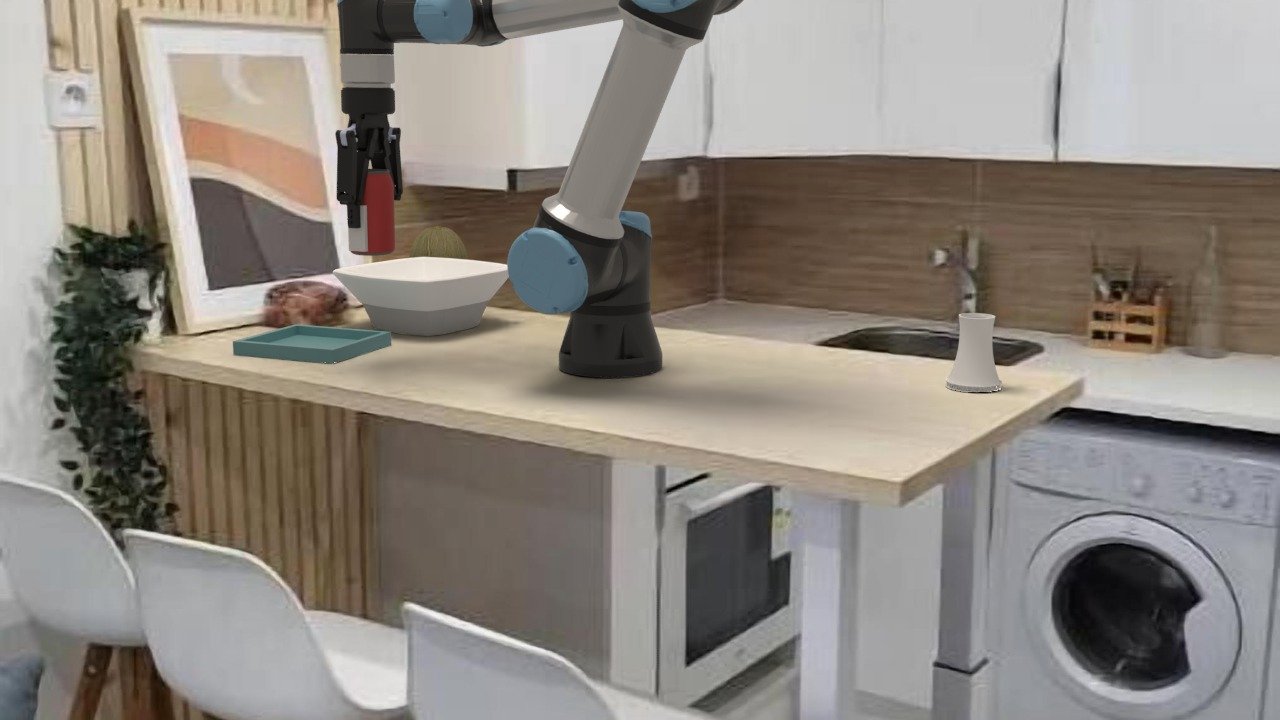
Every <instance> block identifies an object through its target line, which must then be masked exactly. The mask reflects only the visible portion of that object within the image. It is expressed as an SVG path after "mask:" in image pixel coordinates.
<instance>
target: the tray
mask: <svg viewBox="0 0 1280 720" xmlns="http://www.w3.org/2000/svg"><path fill="white" fill-rule="evenodd" d="M388 346H392V332H386V331H382V330H373V329H362V328H361V329H358V328H346V327H334V326H322V325H321V326H320V325H310V324H309V325H308V324H298V323H296V324H292V325H291V324H290V325H288V326H284V327H280V328H276V329H274V330H269V331H265V332H262V333H258V334H254V335H251V336H247V337H244V338H243V337H242V338H241V339H235V340H232V351H233V356H243V357H255V358H265V359H274V358H276V360H277V359H278V360H287V361H297V362H307V361H311V362H310V363H318V362H323V363H322V364H329V363H334V362H338V361H341V362H343V361H342V360H344V361H347V360H350V359H353V358H356V357H359V356H362V355H365V354H368V353H371V352H374V351H378V350H381V349H382V348H383V349H384V348H386V347H388ZM346 359H347V360H346ZM324 362H326V363H324ZM338 363H339V362H338Z"/></svg>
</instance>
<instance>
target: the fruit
mask: <svg viewBox="0 0 1280 720" xmlns="http://www.w3.org/2000/svg"><path fill="white" fill-rule="evenodd" d="M414 257H438V258H453V259H465V260H470V258H469V253H468V252H467V248H466V246H465V244H464V242H463V240H462V239H461V238H460V236H459V234H457V233H456V232H455V231H454V230H453V229H451V228H449V227H446V226H440V225H436V226H434V227H433V226H431V227H427V228H425V229H423V230H422V231H421V232H420V233H419V234H418V235H417V236H416V238H415V240H414V241H413V242H412V245H411V248H410V251H409V257H408V258H414Z"/></svg>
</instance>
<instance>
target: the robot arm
mask: <svg viewBox="0 0 1280 720" xmlns="http://www.w3.org/2000/svg"><path fill="white" fill-rule="evenodd" d="M743 1H744V0H337V2H336V4H337V5H336V6H337V7H336V8H337V12H338V27H339V38H340V39H339V41H340V49H339V54H340V57H339V59H340V63H339V66H340V82H341V83H342V84H344V85H345V86H344V87H342V88H341V89H340V101H341V102H340V103H341V107H340V108H341V112H342V113H343V114H345V115H348V117H349V118H348V123H347V128H345V129H336V130H335V140H336V147H337V149H336V150H337V151H336V152H337V153H336V156H337V158H336V159H337V162H336V200H337V201H338V202H339V204H340V205H344V206H345V205H346V209H347V210H346V212H347V214H346V216H347V217H346V220H347V227H348V229H347V230H348V232H347V233H348V234H347V235H348V251H349V252H350V251H361V252H366V251H368V230H367V205H362V204H363V199H364V193H365V187H366V180H367V174H368V169H369V167H370V165H371V169H387V170H389V171H390V172H389V174H390V176H391V179H392V181H393V185H394V201H395V202H396V201H401V199H402V194H403V193H404V192H403V191H404V187H403V173H402V160H401V159H402V157H401V147H400V145H401V133H402V131H401V130H402V129H401V127H395V126H394V127H393V126H390V122H389V118H388V117H389V116H388V115H393V114H395V112H396V90H394V87H392V85H393V84H394V83H395V82H396V75H395V74H396V73H395V54H394V53H395V44H400V43H401V44H402V43H405V44H434V45H466V46H467V45H470V46H477V47H483V48H484V47H493V46H497V45H500V44H503V43H504V42H506V41H507V40H512V39H513V40H514V39H517V38H518V39H519V38H524V37H530V36H535V35H543V34H547V33H553V32H559V31H563V30H570V29H576V28H582V27H588V26H593V25H598V24H605V23H610V22H615V21H622V27H621V30H620V31H619V34H618V37H617V40H616V43H615V44H614V45H615V46H614V47H613V50H612V53H611V56H610V59H609V61H608V64H607V66H606V69H605V71H604V75H603V76H602V79H601V82H600V84H599V87H598V89H597V91H596V95H595V97H594V100H593V103H592V105H591V107H590V110H589V113H588V115H587V118H586V121H585V122H584V123H585V124H584V126H583V128H582V131H581V134H580V136H579V139H578V141H577V144H576V147H575V149H574V151H573V154H572V156H571V159H570V162H569V164H568V167H567V169H566V172H565V175H564V177H563V179H562V180H563V181H562V183H561V186H560V188H559V191H558V192H557V193H555V194H553V195H551V196H548V197H546V198H545V199H544V200H543V201H542V203H541V204H540V205H541V206H540V208H539V211H538V214H537V217H536V219H535V221H534V224H533V226H532V227H531V228H529V229H527V230H525V231H524V232H522V233H521V234H520V235H519V236H518V237H517V238H516V239H515V240H514V241H513V243H512V245H511V247H510V249H509V251H508V255H507V262H506V265H507V269H508V275H509V278H508V279H509V281H510V282H511V284H512V286H513V290H514V292H515V294H516V295H517V297H519V298H518V299H520V301H522V302H523V304H525V305H526V306H527V307H529V308H531V309H532V310H534V311H536V312H539V313H541V314H545V315H546V314H547V315H557V314H569V313H570V314H569V319H568V323H567V325H566V329H565V332H564V336H563V339H562V342H561V345H560V348H559V351H558V368H559V370H560V371H562V372H564V373H567V374H570V375H575V376H579V377H580V376H581V377H588V378H589V377H590V378H608V379H609V378H631V377H639V376H646V375H650V374H653V373H657V372H659V371H660V370H662V369H663V350H662V348H661V344H660V341H659V338H658V335H657V332H656V329H655V326H654V322H653V320H652V314H651V313H652V311H651V294H652V292H651V289H652V288H651V286H652V283H651V282H652V276H651V275H652V241H653V235H652V233H651V220H650V217H649V215H647V214H646V213H644V212H640V211H631V210H630V211H629V210H622V209H623V207H624V204H625V201H626V199H627V197H628V194H629V191H630V190H631V187H632V184H633V182H634V179H635V177H636V174H637V172H638V169H639V167H640V164H641V162H642V159H643V157H644V155H645V152H646V151H647V147H648V145H649V142H650V140H651V137H652V136H653V133H654V131H655V130H654V129H655V128H656V125H657V123H658V120H659V118H660V115H661V113H662V111H663V108H664V105H665V103H666V100H667V99H668V95H669V93H670V91H671V88H672V85H673V84H674V80H675V79H676V76H677V73H678V71H679V69H680V65H681V63H682V61H683V59H684V56H685V54H686V51H687V50H688V49H689V48H691V47H693V46H696V45H698V44H700V43H702V42H703V41H704V39H705V37H706V34H707V32H708V29H709V26H710V24H711V22H712V19H713V17H714V16H719V15H722V14H726V13H729V12H730V11H732V10H734V9H736V7H738V6H739V5H740V4H742V3H743Z"/></svg>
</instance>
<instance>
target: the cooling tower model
mask: <svg viewBox="0 0 1280 720" xmlns="http://www.w3.org/2000/svg"><path fill="white" fill-rule="evenodd" d="M995 320H996V315H993V314H990V313H983V312H981V313H980V312H967V313H966V312H964V313H959V314H958V322H959V337H958V347H957V351H956V356H955V360H954V362H953V366H952V368H951V371H950V373H949V375H948V376H947V377H946V378H945V382H946V383H945V384H944V386H945V387H946V388H947V387H948V388H947V389H949V390H951V389H952V390H951V391H955V390H956V391H955V392H960V391H961V392H962V393H968V392H990V391H994V390H997V389H998V390H999V388H1001V387H1002V384H1003V381H1002V380H1001V379H1000V378H999V375H998V372H997V371H998V370H997V367H996V364H995V359H994V358H995V357H994V348H993V333H994V324H995ZM996 386H997V388H996ZM961 392H960V393H961Z"/></svg>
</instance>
